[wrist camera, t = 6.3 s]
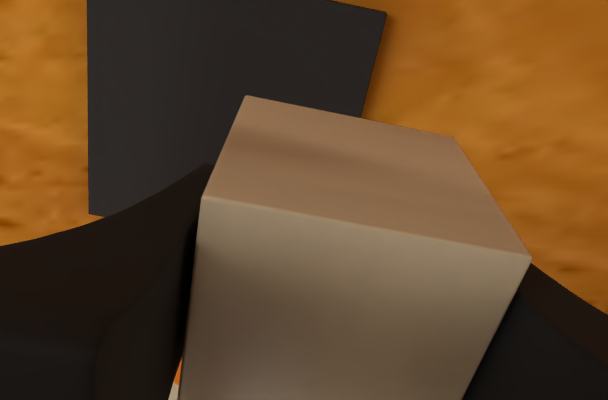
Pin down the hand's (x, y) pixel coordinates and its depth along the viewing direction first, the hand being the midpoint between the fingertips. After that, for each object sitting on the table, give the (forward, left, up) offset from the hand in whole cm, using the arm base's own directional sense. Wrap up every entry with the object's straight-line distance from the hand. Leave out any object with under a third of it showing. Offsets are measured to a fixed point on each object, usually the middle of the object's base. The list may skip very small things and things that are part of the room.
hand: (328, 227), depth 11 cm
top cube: (0, 0, -1) cm, 1 cm away
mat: (-1, +4, -9) cm, 10 cm away
